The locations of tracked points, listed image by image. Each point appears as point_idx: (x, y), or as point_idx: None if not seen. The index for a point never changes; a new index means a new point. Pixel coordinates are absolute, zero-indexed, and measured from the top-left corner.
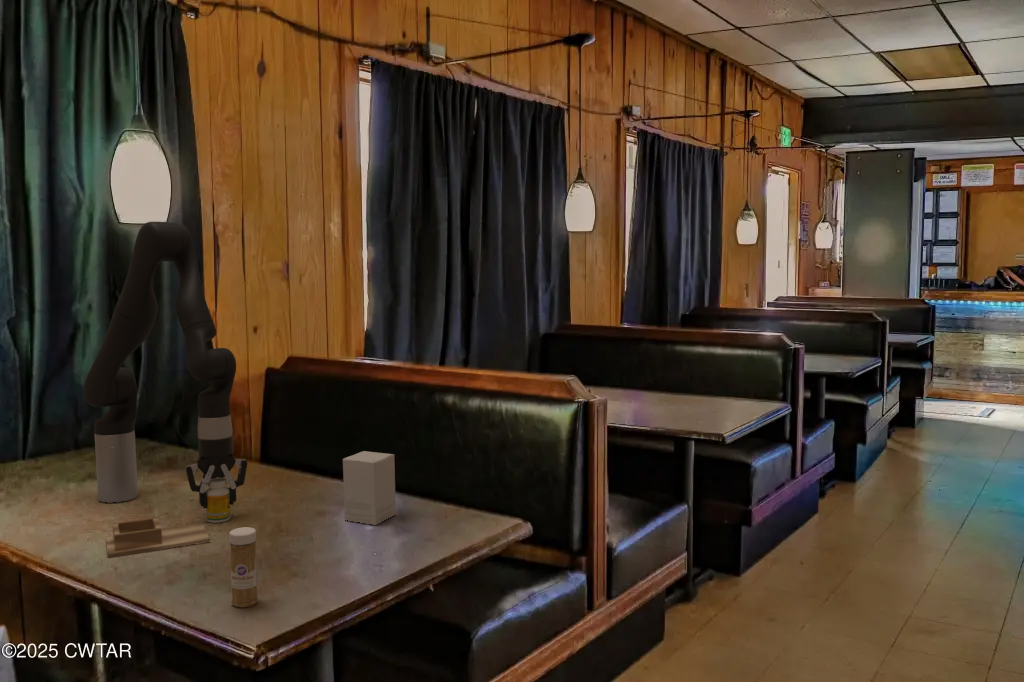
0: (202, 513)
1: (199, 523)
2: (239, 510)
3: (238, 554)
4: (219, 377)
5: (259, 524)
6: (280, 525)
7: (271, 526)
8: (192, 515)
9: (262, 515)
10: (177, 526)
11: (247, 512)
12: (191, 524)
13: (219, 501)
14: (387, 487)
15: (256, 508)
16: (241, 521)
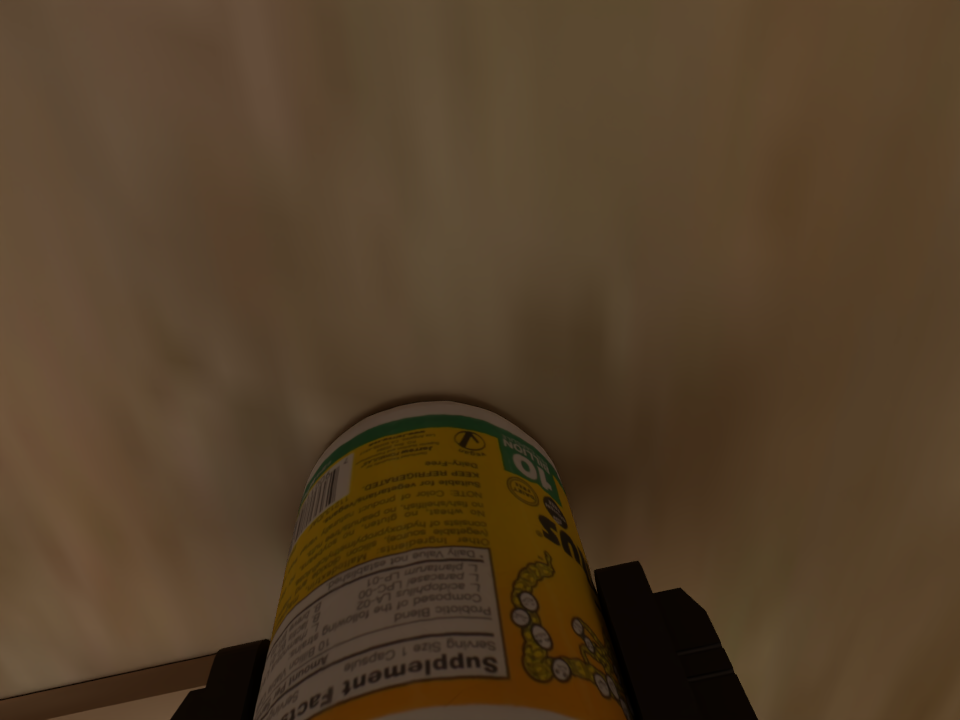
0: (174, 206)
1: None
2: (683, 195)
3: None
4: None
5: (794, 658)
6: (937, 695)
7: (868, 705)
8: (51, 267)
9: (889, 446)
10: (61, 718)
11: (765, 308)
12: (190, 689)
13: None
14: None
15: (910, 160)
16: (659, 572)
